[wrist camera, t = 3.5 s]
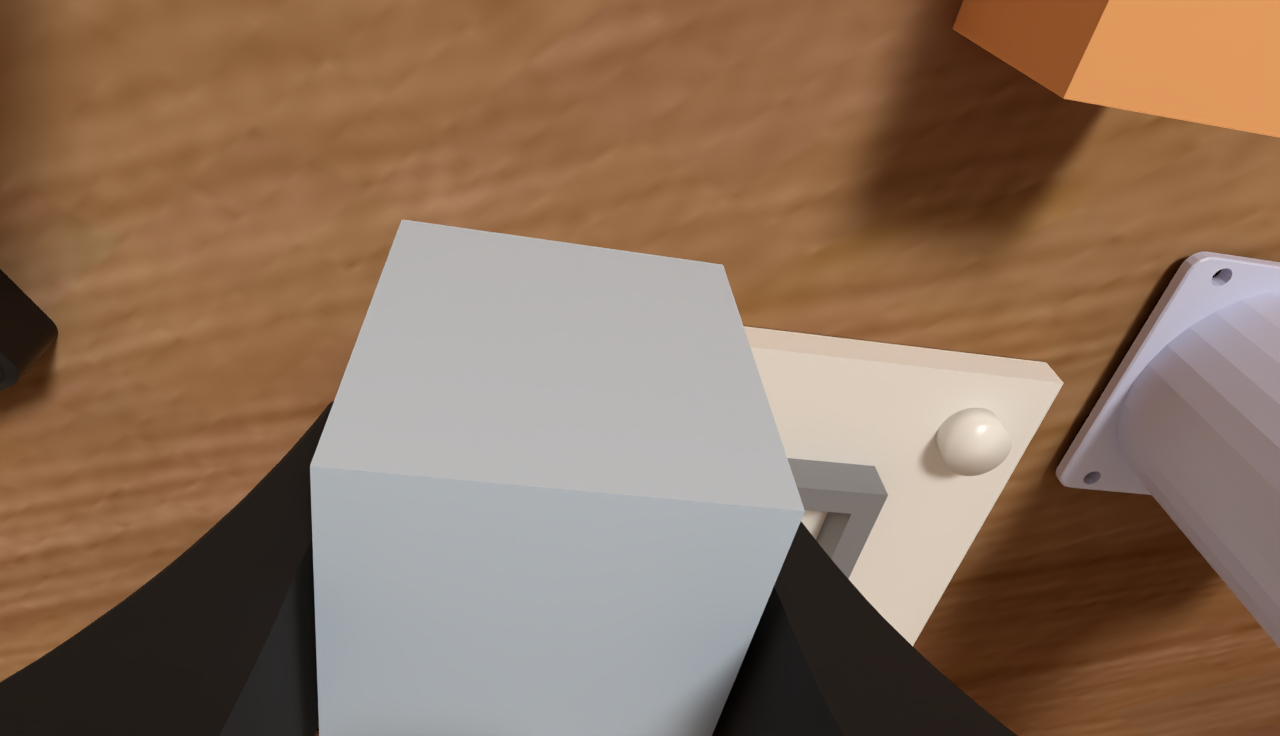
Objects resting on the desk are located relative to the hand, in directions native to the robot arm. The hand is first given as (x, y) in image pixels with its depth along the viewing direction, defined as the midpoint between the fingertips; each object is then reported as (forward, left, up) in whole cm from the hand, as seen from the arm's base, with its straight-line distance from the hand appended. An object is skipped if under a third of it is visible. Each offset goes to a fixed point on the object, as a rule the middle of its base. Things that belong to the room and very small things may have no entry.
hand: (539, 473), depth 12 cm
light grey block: (0, 0, -1) cm, 1 cm away
